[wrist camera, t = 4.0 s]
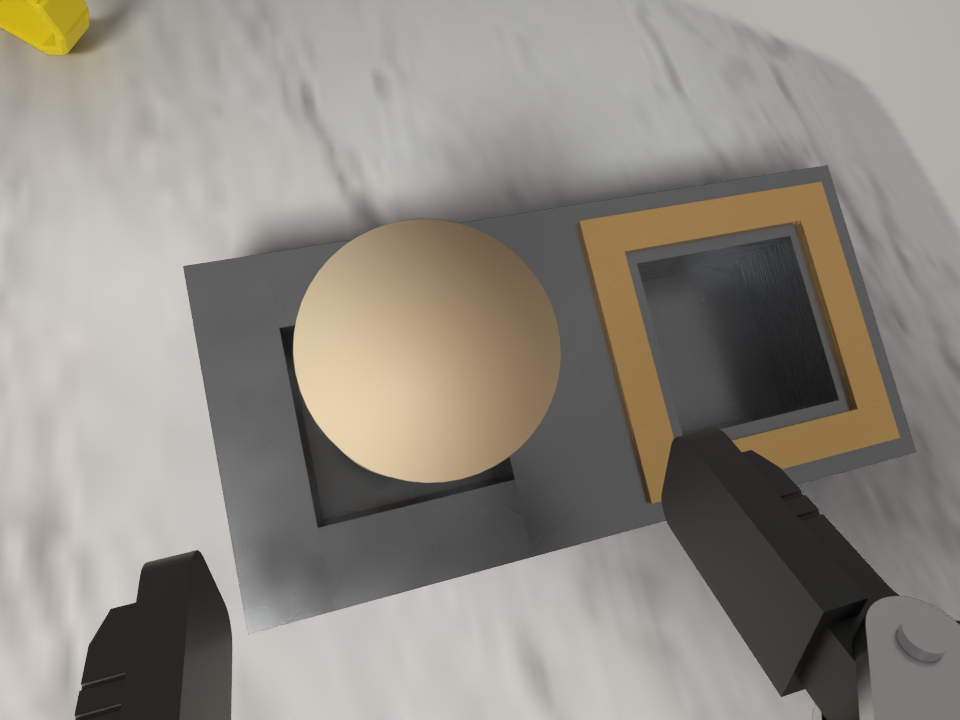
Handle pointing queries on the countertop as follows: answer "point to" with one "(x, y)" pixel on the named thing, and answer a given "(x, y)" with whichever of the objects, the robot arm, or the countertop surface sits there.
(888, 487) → the countertop surface
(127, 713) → the robot arm
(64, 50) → the watch
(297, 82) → the countertop surface
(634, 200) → the base plate
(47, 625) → the countertop surface
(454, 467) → the peg
